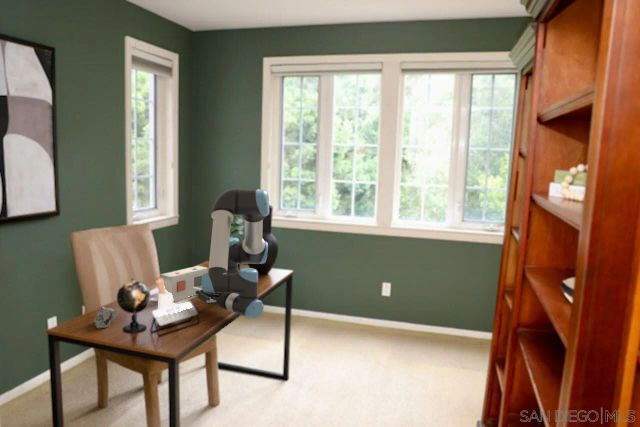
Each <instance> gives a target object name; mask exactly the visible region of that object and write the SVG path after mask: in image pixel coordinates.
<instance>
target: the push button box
mask: <svg viewBox="0 0 640 427" xmlns="http://www.w3.org/2000/svg"><path fill="white" fill-rule="evenodd" d="M208 269H209V267H206V266H202V265H194V266H189V267H186V268H181V269H177V270H172V271H168V272H164V273H160V276H159V278H160V277H161V278H163V280H164V286H165V289H166V290H167V291H168V292H170V293H172V295H173V298H174V301H175V302H179V301H182V300H185V299H184V298H186V299H188V298H187V297H188V296H192V295H196V294H193V293H192V287H194V278H195V277H199V276H201V277H202V276H203V274H204V273H208ZM180 281H186V288H185V290H183V291H179V292H178V291H177V282H180ZM196 287H198V288H201V289H202V285H199V286H196ZM196 296H197V295H196ZM192 297H193V296H192ZM181 299H182V300H181ZM178 300H179V301H178ZM175 302H174V303H175Z"/></svg>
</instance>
